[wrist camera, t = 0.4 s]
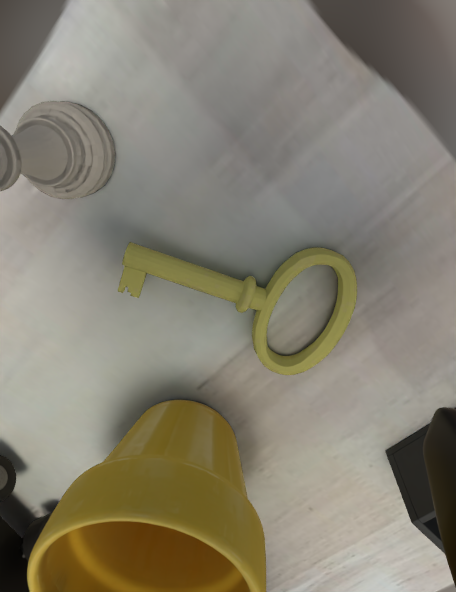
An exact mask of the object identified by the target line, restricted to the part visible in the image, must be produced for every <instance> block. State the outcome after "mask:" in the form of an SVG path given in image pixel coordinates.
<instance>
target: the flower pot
mask: <svg viewBox="0 0 456 592" xmlns="http://www.w3.org/2000/svg"><path fill="white" fill-rule="evenodd" d="M27 582H28V587H29V591H30V592H266V554H265V537H264V532H263V527H262V524H261V521H260V519H259V516H258V514H257V512H256V510H255V509H254V507H253V506H252V504H251V503H250V501H249V500H248V498H247V493H246V488H245V483H244V478H243V472H242V467H241V462H240V457H239V451H238V446H237V441H236V437H235V434H234V432H233V430H232V428H231V426H230V425H229V424H228V422H227V421H226V420H225V419H224V418H223V417H222V416H221V415H220V414H219V413H218V412H217V411H215V410H214V409H212V408H210V407H208V406H206V405H204V404H201V403H198V402H194V401H190V400H170V401H165V402H161V403H159V404H156V405H154V406H152V407H151V408H149V409H148V410H147V411H146V412H145V413H144V414H143V415H142V416H141V417H140V418H139V419H138V421H137V422H136V423H135V424H134V426H133V427H132V428H131V429H130V430H129V432H128V433H127V434H126V435H125V436H124V438H123V439H122V440H121V441H120V442H119V444H118V445H117V446H116V447H115V448H114V450H113V451H112V452H111V453H110V454H109V456H108V457H107V458H106V459H105V460H104V461H103V462H102V463H100V464H98V465H96V466H94V467H92V468H90V469H89V470H87V471H86V472H84V473H83V474H82V475H80V476H79V477H78V478H77V479H76V480H75V481H74V482H73V483H72V484H71V486H70V487H69V488H68V490H67V491H66V492H65V494H64V495H63V497H62V498H61V500H60V502H59V503H58V505H57V506H56V508H55V510H54V511H53V513H52V515H51V516H50V518H49V520H48V522H47V523H46V525H45V527H44V529H43V530H42V532H41V534H40V536H39V538H38V540H37V541H36V543H35V545H34V547H33V550H32V552H31V554H30V558H29V562H28V568H27Z"/></svg>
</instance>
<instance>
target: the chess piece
mask: <svg viewBox="0 0 456 592" xmlns="http://www.w3.org/2000/svg"><path fill="white" fill-rule="evenodd" d="M114 161H115V151H114V144H113V141H112V138H111V135H110V133H109V130H108V129H107V128H106V126H105V125H104V123H103V122H102V120H101V119H100V118H99V117H98V116H96V115H95V114H94V113H93V112H92V111H90V110H89V109H87V108H85V107H83V106H81V105H79V104H74V103H70V102H65V101H61V102H57V101H50V102H42V103H40V104H37V105H35V106H32V107H31V108H30V109H29V110H28V111H27V112H26V113H24V115H23V116H22V118H21V119H20V121H19V123H18V125H17V129H16V131H15V132H14V135H12V136H11V135H10V133H8V132H7V131H6V130H5V129H4V128H3V127H1V126H0V191H3V190H5V189H8V188H9V187H11V186H12V185H13V184H14V183H15V182H16V181H17V179H18V177H19V175H20V174H23V175H24V176H25V177H26V178H27V179H28V180H29V181H30V182H31V183H32V184H33V185H34V186H35V187H36V188H38V189H39V190H40V191H41V192H43V193H45V194H47V195H49V196H51V197H56V198H60V199H74V198H79V197H84V196H87V195H90V194H93V193H95V192H96V191H98V190H99V189H100V188H102V187H103V186H104V185H105V184H106V182H107V181H108V180H109V178H110V176H111V173H112V171H113V168H114Z"/></svg>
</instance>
